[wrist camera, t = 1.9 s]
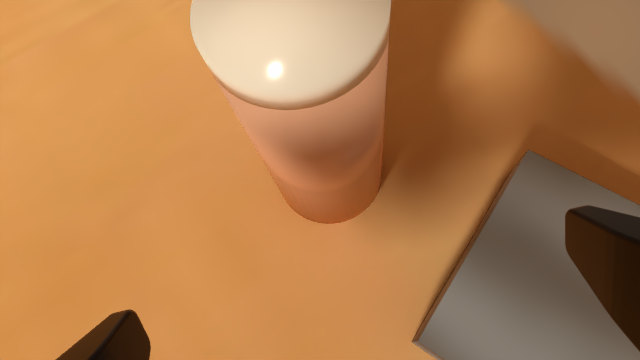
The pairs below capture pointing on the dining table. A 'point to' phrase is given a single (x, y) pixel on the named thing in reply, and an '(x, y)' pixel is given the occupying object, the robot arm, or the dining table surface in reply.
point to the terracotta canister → (305, 92)
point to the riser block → (526, 278)
